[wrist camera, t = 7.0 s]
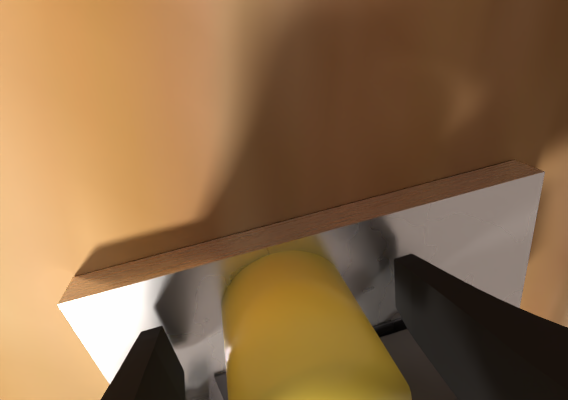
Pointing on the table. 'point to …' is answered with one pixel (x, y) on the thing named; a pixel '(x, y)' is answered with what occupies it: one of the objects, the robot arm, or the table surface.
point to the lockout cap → (302, 336)
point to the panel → (326, 243)
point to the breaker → (416, 368)
